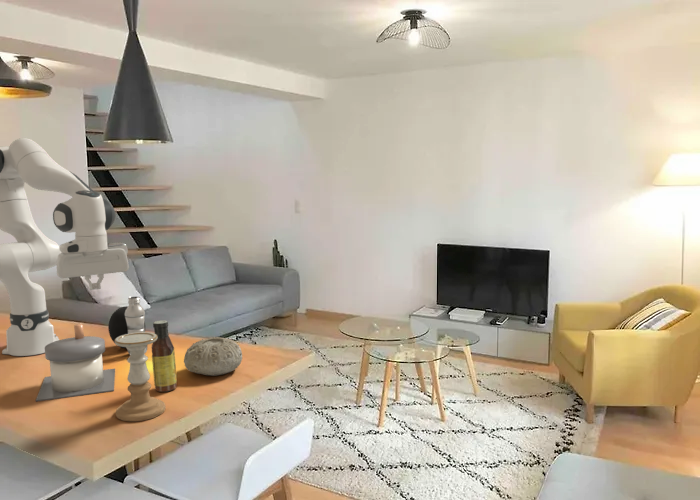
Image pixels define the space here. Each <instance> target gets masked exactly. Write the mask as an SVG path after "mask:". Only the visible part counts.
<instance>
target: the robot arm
mask: <svg viewBox="0 0 700 500" xmlns="http://www.w3.org/2000/svg"><path fill="white" fill-rule="evenodd" d="M25 184H27V185H28V186H30V187H31V188H33V189H34V190H35V189H36V190H39V191H47V192H56V193H61V194H65V195H68V196H70V199H67V200H65V201H64V202H60V203H58V204H57V205H56V206H55V208H54V210H53V211H52V221H53V224H54V226H55V227H56V229H58V230H59V231H61V232H62V233H70V234H71V233H75V234H74V237H75V239H72V240H70V241H66V242H64V243H62V244H58V243H57V242H56V241H55V240H53V239H50V238H49V237H48V236H46V235H45V234H44V232H42V230H41V229H40V228H39V226H38V225H37V224H36V221H35V219H34V217H33V213H32V210H31V207H30V206H31V205H30V204H29V203H30V202H29V199H28V196H27V195H28V194H27V192H26V189H25ZM115 220H116V210H115V208H114V206H113V205H112V203H110V201H108V200H107V199H105V198H103V196H102V194H101V193H100V192H99V191H96V190H95V191H94V190H93V189H92V188H91V187H90V186H89V185H88V184H87V183H85V181H83V180H82V179H81V178H80V177H79V176H78V175H77V174H75V173H73V172H72V171H70V170H69V169H67V168H65V167H63V166H62V165H60V164H59V163H57V162H56V161H55V160H54V158H52V157H51V156H50V155H49V154H48V152H47V151H46V150H45V148H43V147H42V146H41V144H38V143H37V142H36V141H35V140H33V139H31V138H28V137H21V138H17V139H15V140H13V141H12V143H10V145H5V146H0V230H1V231H3V233H6V234H9V235H11V236H13V238H14V239H15V240H16V241H15V242H7V243H1V244H0V282H1V283H2V284H3V285H4V287H5V289H6V291H7V294H8V300H9V306H10V307H9V308H10V313H9V324H11V325H10V326H9V327H7V329H6V332H5V333H6V335H5V337H6V348H4V349H2V351H1V353H2V355H9V356H10V355H11V356H13V357H24V356H25V357H26V356H28V357H29V356H35V355H40V354H45V346H46V345H48V344H50V343H52V342H55V341H58V340H60V339H59V336H57V334H56V333H55V331H54V330H55V329H54V325H53V324H52V323H51V322H50V320H49V319H50V318H49V317H50V316H49V315H50V314H49V310H48V309H47V301H46V291H45V289H44V287H43V286H42V285H41V284H39V283H37V282H33V281H31V279H30V277H29V273H33V272H39V271H45V270H48V269H50V268H53V267H56V274H57V276H58V277H59V278H60V279H67V278H69V279H70V278H77V277H84V280H85V281H86V282H87V284H88V285H89V286H88V288H89V291H92V290H93V291H94V290H100V289H101V284H102V282H103V280H104V278H105V275H107V274H108V275H109V274H116V273H124V272H127V271H128V270H129V269H130V265H129V260H128V256H127V255H128V253H129V249H128V245H127V244H125V243H123V242H121V241H119V242H108V233H107V230H109V229H110V228H111V227H112V226H113V225H114V222H115ZM95 275H97V278H98V279H97V281H96V282H92V281H91V280H90V279H91V278H92V276H95Z"/></svg>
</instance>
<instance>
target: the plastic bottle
mask: <svg viewBox="0 0 700 500" xmlns="http://www.w3.org/2000/svg"><path fill="white" fill-rule="evenodd" d="M127 301H128V302H127V304H128V307H127V309H126V311H125V318H126V323H127V328H128V334H129V333H137V332H146V330H145V331H144V321H145V317H146V311H145V309H144V307H143V306H142V305H141V304H140V303H141V299H140V296H129V297H128V299H127ZM126 350H127V353H128V354H129V355H130V351H129V350H128V349H127V348H126ZM147 351H148V345H147V347H146V348H145V350H144V354H145V355H146V353H147Z"/></svg>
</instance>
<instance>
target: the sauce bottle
mask: <svg viewBox="0 0 700 500" xmlns="http://www.w3.org/2000/svg"><path fill="white" fill-rule="evenodd" d="M152 327H153V329H154V332H153V333H155V334H156V335H157V336H158V338H157V340H156V341H155V342H153V343H151V360H152V361H151V362H152V372H153V373H152V374H153V382H154V383H153V385H154V389H155V391H156V392H159V393H167V392H171V391H174V390H175V389H176V388H177V385H178V384H177V382H178V380H177V367H176V356H175V355H176V354H175V347H174V345H173V342H172V339H171V338H170V336H169V321H167V320H165V319H164V320H163V319H162V320H156V321H154V322H153V323H152Z"/></svg>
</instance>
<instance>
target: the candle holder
mask: <svg viewBox="0 0 700 500" xmlns="http://www.w3.org/2000/svg"><path fill="white" fill-rule="evenodd" d="M157 338H158V336H157V335H156V334H155V332H149V331H145V332H137V333H129V334H125V335H122V336H119V337H117V338H116V339H115V343H114V344H115V345H116V346H118V347H119V346H121V347H120V348H122V347H126V348H125V349H126V350H127V349H128V350H129V351H130V354H129V357H128V358H127V361H126V362H127V363H129V371H128V374H127V382H129V383H130V384H129V385H128V386H127V388H126V389H127V391H128V392H129V393H130V398H129V399H128V400H126V401H124V403H122V404H121V405H119V406H118V407H117V408H116V410H115V416H116V418H117V419H118V420H120V421H123V422H142V421H148V420H151V419H154V418H156V417H158V416H161V415H162V414H163V413H164V412H165V410H166V403H165V402H164V401H163V400H161V399H158V398H156V397H154V396H150V390H151V388H152V384H151V383H150V382H149V381H150V379H151V375H150V372H149V369H148V367H147V361H148V360H149V357H148V356H147V354H146V353H145V354H144V350H145V348H146V347H147V346H148V345H152V344H153V342H155V341H156V340H157ZM147 348H148V347H147ZM128 350H127V351H128Z"/></svg>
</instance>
